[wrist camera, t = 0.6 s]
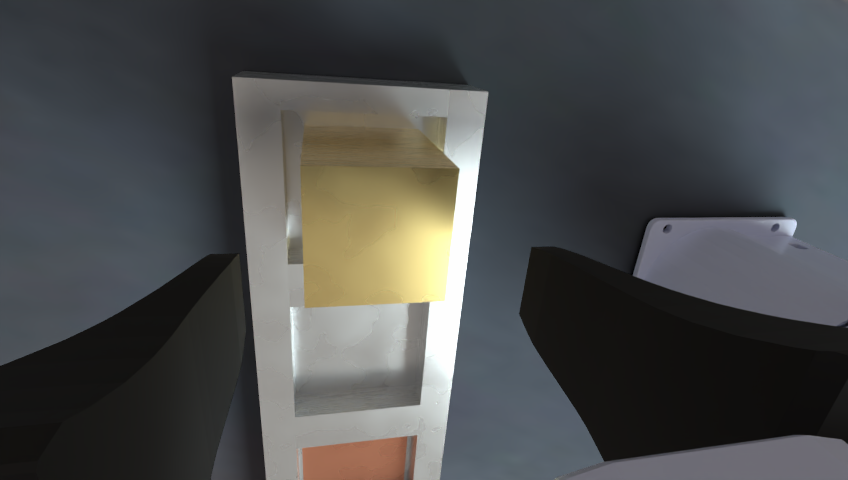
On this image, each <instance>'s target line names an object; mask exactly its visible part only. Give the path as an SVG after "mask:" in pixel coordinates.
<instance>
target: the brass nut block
mask: <svg viewBox="0 0 848 480" xmlns="http://www.w3.org/2000/svg"><path fill="white" fill-rule="evenodd" d="M459 169H460V168H458V167H457V166H456V165H455V164H454V163H453V162H452V161H451V160H450V159H449V158H448V157H447V156H446V155H445V154H444V153H443V152H442V151H441V150H440V149H439V148H438V147H437V146H435V145H434V144H433V143H432V142H431V141H430V140H429V139H428V138H427V137H426V136H425V135H424V134H423V133H422V132H421V131H420V130H419V129H401V128H375V127H348V126H322V125H304V133H303V143H302V153H301V162H300V177H301V208H302V240H303V271H304V303H305V308H315V307H336V306H357V305H378V304H399V303H420V302H440V301H445V297H446V288H447V279H448V270H449V261H450V252H451V242H452V233H453V224H454V215H455V206H456V197H457V187H458V178H459Z"/></svg>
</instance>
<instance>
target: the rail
mask: <svg viewBox="0 0 848 480" xmlns="http://www.w3.org/2000/svg"><path fill="white" fill-rule="evenodd" d="M232 84H233V96H234V108H235V119H236V131H237V143H238V155H239V166H240V178H241V190H242V202H243V213H244V225H245V237H246V248H247V260H248V272H249V284H250V295H251V307H252V319H253V331H254V342H255V354H256V366H257V378H258V389H259V401H260V413H261V425H262V436H263V448H264V460H265V472H266V480H440V473H441V465H442V457H443V449H444V441H445V433H446V425H447V417H448V409H449V401H450V393H451V385H452V377H453V369H454V362H455V354H456V346H457V338H458V330H459V322H460V314H461V306H462V298H463V290H464V282H465V274H466V266H467V258H468V250H469V242H470V235H471V227H472V219H473V211H474V203H475V195H476V187H477V179H478V171H479V163H480V155H481V147H482V139H483V131H484V123H485V115H486V107H487V100H488V92H487V91H485V90H482V89H479V88H476V87H474V86H471V85H465V84H448V83H432V82H416V81H399V80H383V79H367V78H350V77H334V76H318V75H301V74H285V73H269V72H252V71H241V72H240V73H238V74H236V75H234V76H233V77H232ZM304 125H322V126H348V127H375V128H401V129H419V130H420V131H421V132H422V133H423V134H424V135H425V136H426V137H427V138H428V139H429V140H430V141H431V142H432V143H433V144H434V145H435V146H437V147H438V148H439V149H440V150H441V151H442V152H443V153H444V154H445V155H446V156H447V157H448V158H449V159H450V160H451V161H452V162H453V163H454V164H455V165H456V166H457V167H458V168H460V169H459V178H458V187H457V197H456V206H455V215H454V224H453V233H452V242H451V252H450V261H449V270H448V279H447V288H446V297H445V301H440V302H420V303H399V304H378V305H357V306H336V307H315V308H305V303H304V271H303V240H302V208H301V177H300V162H301V153H302V143H303V133H304Z"/></svg>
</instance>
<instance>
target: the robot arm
mask: <svg viewBox="0 0 848 480" xmlns="http://www.w3.org/2000/svg"><path fill="white" fill-rule="evenodd" d="M666 225H667V227H666V229H664V227H665V226H666ZM796 226H797V222H796V220H795V219H792V218H790V217H708V218H654V219H653V220H651V221H650V222H649V223H648V225H647V227H646V231H645V234H644V238H643V241H642V245H641V248H640V252H639V255H638V259H637V262H636V266H635V269H634V272H633V276H632V275H630V274H627V273H625V272H622V271H620V270H617V269H615V268H612V267H610V266H607V265H605V264H602V263H600V262H597V261H595V260H592V259H590V258H587V257H585V256H582V255H579V254H577V253H574V252H571V251H568V250H565V249H561V248H557V247H532V248H531V253H530V258H529V264H528V269H527V275H526V280H525V286H524V291H523V296H522V302H521V307H520V313H519V314H520V317H521V319H522V321H523V324H524V326H525V328H526V331H527V333H528V335H529V337H530V339H531V341H532V343H533V345H534V347H535V348H536V350H537V351H538V353H539V355H540V356H541V358H542V359H543V361H544V362H545V364H546V365H547V367H548V368H549V370H550V371H551V373H552V374H553V376H554V377H555V379H556V380H557V382H558V383H559V385H560V386H561V388H562V389H563V391H564V392H565V394H566V395H567V397H568V398H569V400H570V401H571V403H572V404H573V406H574V407H575V409H576V410H577V412H578V414H579V415H580V417H581V419H582V420H583V422H584V424H585V425H586V427H587V429H588V431H589V433H590V434H591V436H592V438H593V440H594V442H595V444H596V446H597V448H598V450H599V452H600V454H601V456H602V458H603V460H604V462H602V463H599V464H596V465H593V466H590V467H587V468H584V469H581V470H578V471H575V472H572V473H569V474H566V475H563V476H560V477H557V478H556V479H554V480H848V261H846V260H844V259H842V258H839V257H837V256H835V255H832V254H830V253H828V252H826V251H823V250H821V249H819V248H816V247H814V246H812V245H809V244H807V243H805V242H803V241H800V240H798V239H796V238H793V237H792V236H793V233H794V231H795V229H796ZM663 229H664V230H663ZM245 335H246V322H245V311H244V300H243V289H242V279H241V268H240V257H239V254H210V255H208V256H206V257H204V258H203V259H201V260H200V261H198V262H197V263H195V264H194V265H192V266H191V267H190V268H188V269H187V270H185V271H184V272H182V273H181V274H179V275H178V276H176V277H175V278H174V279H172V280H171V281H169V282H168V283H166V284H165V285H163V286H162V287H160V288H159V289H157V290H156V291H154V292H152V293H151V294H149V295H147V296H146V297H144V298H143V299H141V300H139V301H138V302H136V303H134V304H133V305H131V306H129V307H128V308H126V309H124V310H123V311H121V312H119V313H118V314H116V315H114V316H112V317H110V318H108V319H107V320H105V321H103V322H101V323H99V324H97V325H95V326H93V327H91V328H89V329H87V330H85V331H83V332H80V333H78V334H76V335H74V336H72V337H70V338H68V339H66V340H63V341H61V342H59V343H56V344H54V345H51V346H49V347H46V348H44V349H41V350H39V351H37V352H34V353H32V354H29V355H27V356H24V357H22V358H19V359H17V360H14V361H12V362H9V363H7V364H4V365H2V366H0V480H211V474H212V470H213V465H214V461H215V457H216V453H217V449H218V446H219V442H220V439H221V435H222V432H223V428H224V425H225V421H226V418H227V415H228V411H229V408H230V404H231V401H232V397H233V394H234V390H235V387H236V383H237V380H238V376H239V372H240V369H241V364H242V357H243V351H244V343H245Z"/></svg>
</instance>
